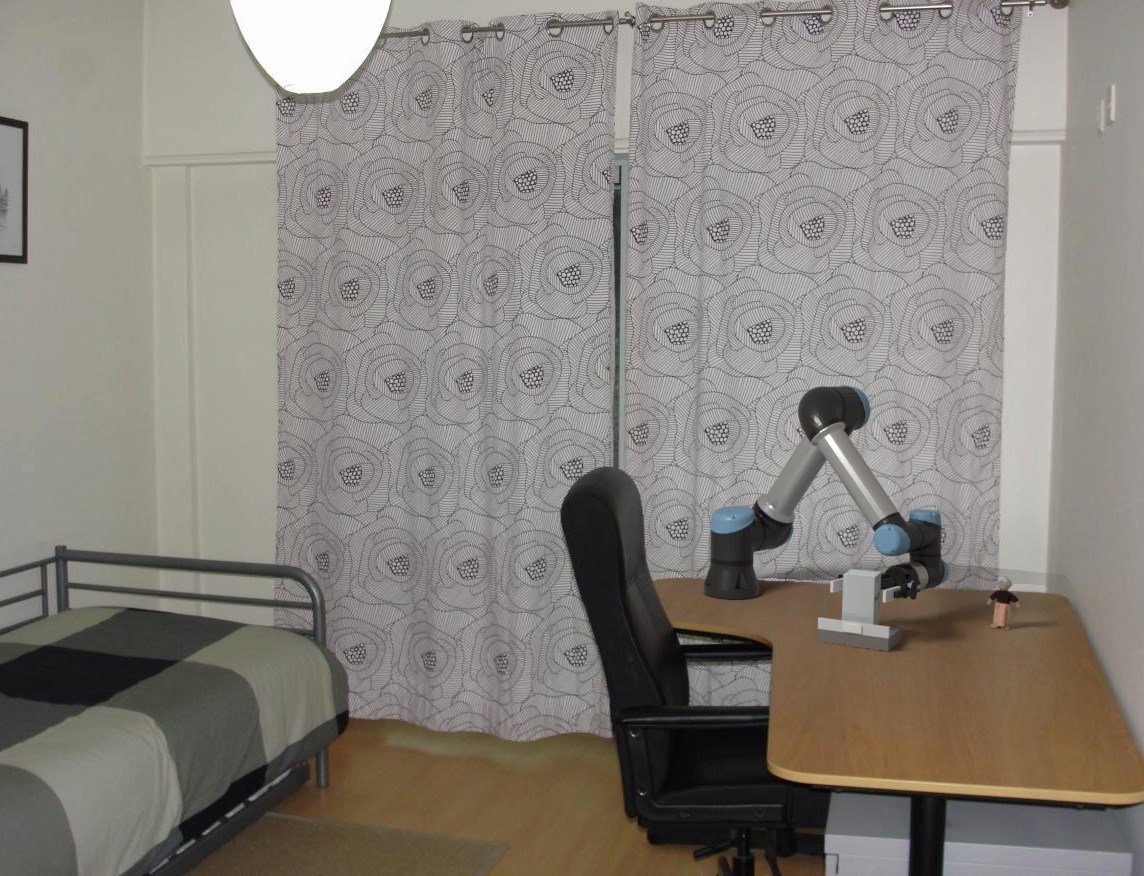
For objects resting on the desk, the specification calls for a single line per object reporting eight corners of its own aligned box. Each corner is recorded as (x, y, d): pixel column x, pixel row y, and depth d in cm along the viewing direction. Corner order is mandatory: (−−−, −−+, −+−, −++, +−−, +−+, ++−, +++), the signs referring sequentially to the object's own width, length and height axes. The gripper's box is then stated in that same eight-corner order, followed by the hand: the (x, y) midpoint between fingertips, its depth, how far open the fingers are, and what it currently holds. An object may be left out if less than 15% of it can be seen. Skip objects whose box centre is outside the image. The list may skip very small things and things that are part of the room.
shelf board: (816, 641, 247) (817, 618, 247) (833, 630, 258) (834, 607, 258) (887, 652, 239) (888, 628, 239) (901, 639, 250) (902, 616, 250)
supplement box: (873, 632, 245) (875, 576, 244) (840, 628, 248) (842, 573, 247) (880, 625, 251) (882, 571, 250) (848, 621, 255) (849, 568, 254)
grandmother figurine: (984, 628, 261) (986, 576, 260) (986, 624, 265) (988, 573, 264) (1019, 632, 258) (1021, 579, 257) (1020, 628, 261) (1022, 576, 260)
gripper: (953, 602, 253) (907, 617, 239) (859, 585, 271) (810, 598, 257) (954, 571, 253) (908, 583, 238) (860, 556, 271) (811, 567, 256)
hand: (857, 591), depth 247 cm, fingers open, 13 cm apart
